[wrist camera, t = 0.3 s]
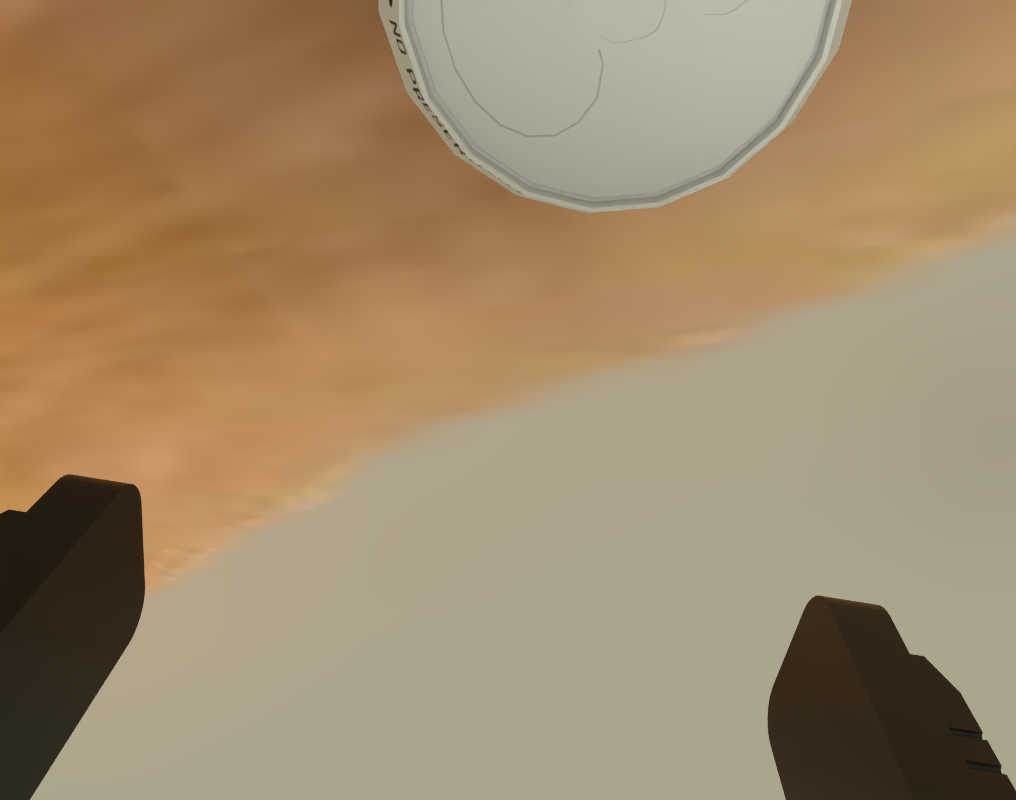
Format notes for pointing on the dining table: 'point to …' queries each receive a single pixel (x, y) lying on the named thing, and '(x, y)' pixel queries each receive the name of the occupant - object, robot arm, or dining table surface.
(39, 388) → the dining table surface
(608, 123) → the supplement can
